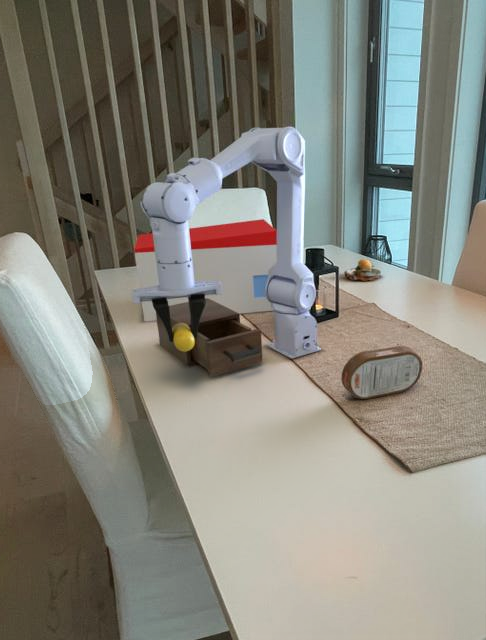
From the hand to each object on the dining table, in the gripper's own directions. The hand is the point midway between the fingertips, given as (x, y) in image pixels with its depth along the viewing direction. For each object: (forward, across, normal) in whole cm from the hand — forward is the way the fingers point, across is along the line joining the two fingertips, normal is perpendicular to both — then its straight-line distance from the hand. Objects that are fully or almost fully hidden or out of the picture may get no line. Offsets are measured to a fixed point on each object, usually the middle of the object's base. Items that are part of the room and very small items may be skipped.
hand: (183, 338), depth 89 cm
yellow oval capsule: (+1, 0, 0) cm, 1 cm away
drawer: (+9, -9, -9) cm, 16 cm away
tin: (+11, -32, +13) cm, 36 cm away
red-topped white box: (+11, -13, -52) cm, 55 cm away
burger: (+11, -65, -64) cm, 92 cm away
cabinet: (+10, -5, -20) cm, 24 cm away
